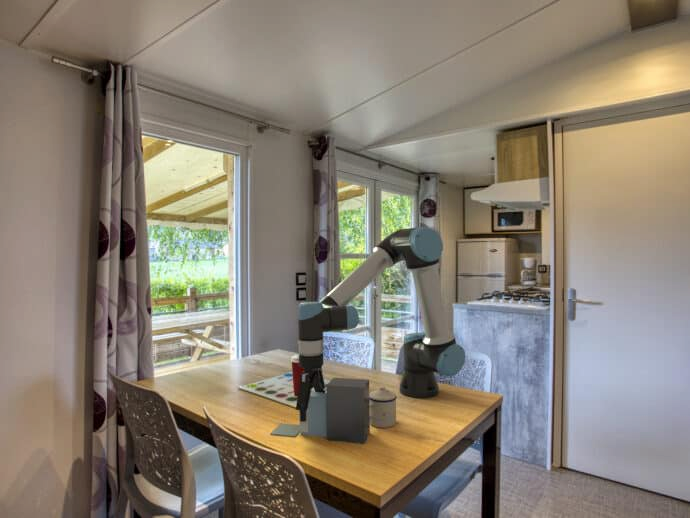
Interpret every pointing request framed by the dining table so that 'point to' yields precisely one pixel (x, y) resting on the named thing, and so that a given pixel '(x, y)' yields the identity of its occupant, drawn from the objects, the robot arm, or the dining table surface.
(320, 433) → the slate blue cuboid
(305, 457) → the dining table surface
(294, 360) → the coffee cup
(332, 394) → the dark gray cuboid
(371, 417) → the teacup with lid
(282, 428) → the pad
